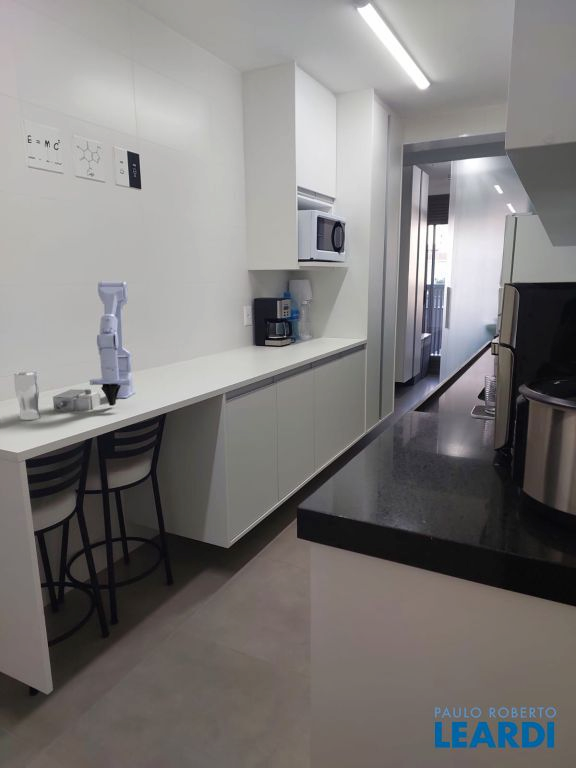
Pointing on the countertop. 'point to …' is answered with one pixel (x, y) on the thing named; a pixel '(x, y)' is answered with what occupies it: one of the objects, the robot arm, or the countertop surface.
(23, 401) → the beer glass
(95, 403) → the white block
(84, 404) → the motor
